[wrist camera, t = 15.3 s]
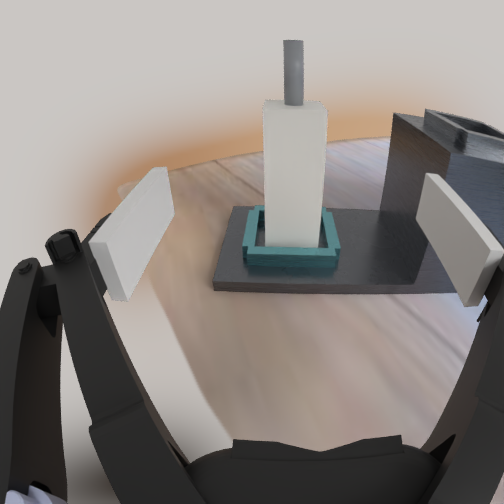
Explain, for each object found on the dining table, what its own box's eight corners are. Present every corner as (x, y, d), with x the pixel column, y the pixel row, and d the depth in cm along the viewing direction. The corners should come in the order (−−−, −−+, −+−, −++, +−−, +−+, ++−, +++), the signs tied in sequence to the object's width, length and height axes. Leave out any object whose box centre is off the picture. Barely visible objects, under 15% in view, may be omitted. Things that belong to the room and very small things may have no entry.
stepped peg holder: (234, 211, 35) (227, 92, 27) (461, 221, 32) (485, 119, 24) (214, 290, 25) (192, 120, 17) (510, 290, 22) (559, 164, 14)
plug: (267, 221, 31) (263, 42, 21) (312, 222, 30) (319, 43, 20) (265, 253, 27) (260, 39, 16) (317, 254, 26) (328, 40, 16)
